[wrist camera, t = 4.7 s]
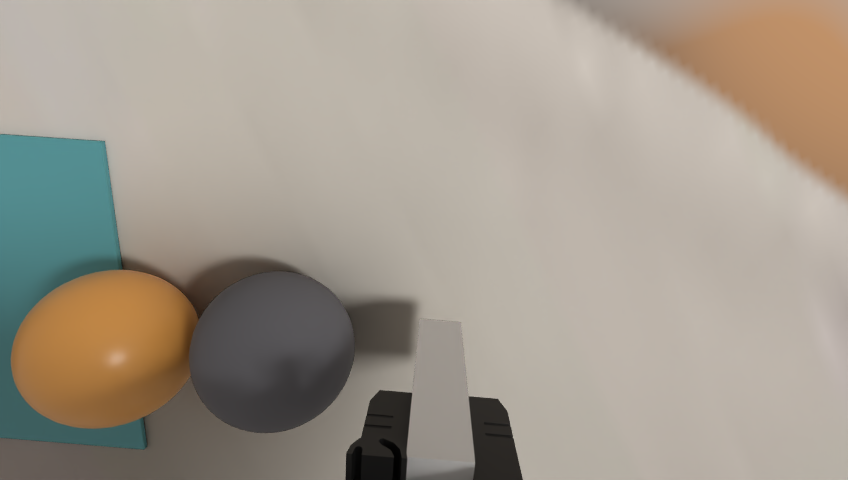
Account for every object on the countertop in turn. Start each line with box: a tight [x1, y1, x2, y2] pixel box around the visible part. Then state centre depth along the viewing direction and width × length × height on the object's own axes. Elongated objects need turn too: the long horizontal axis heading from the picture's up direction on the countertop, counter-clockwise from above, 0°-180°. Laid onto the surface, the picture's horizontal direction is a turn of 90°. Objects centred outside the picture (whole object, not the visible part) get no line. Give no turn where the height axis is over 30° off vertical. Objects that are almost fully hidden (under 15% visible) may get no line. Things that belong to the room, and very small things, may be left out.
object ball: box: [11, 270, 199, 429], centre depth 16 cm, size 6×6×6 cm
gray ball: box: [189, 271, 355, 433], centre depth 15 cm, size 6×6×6 cm
